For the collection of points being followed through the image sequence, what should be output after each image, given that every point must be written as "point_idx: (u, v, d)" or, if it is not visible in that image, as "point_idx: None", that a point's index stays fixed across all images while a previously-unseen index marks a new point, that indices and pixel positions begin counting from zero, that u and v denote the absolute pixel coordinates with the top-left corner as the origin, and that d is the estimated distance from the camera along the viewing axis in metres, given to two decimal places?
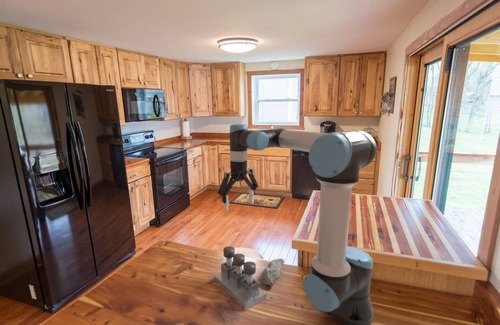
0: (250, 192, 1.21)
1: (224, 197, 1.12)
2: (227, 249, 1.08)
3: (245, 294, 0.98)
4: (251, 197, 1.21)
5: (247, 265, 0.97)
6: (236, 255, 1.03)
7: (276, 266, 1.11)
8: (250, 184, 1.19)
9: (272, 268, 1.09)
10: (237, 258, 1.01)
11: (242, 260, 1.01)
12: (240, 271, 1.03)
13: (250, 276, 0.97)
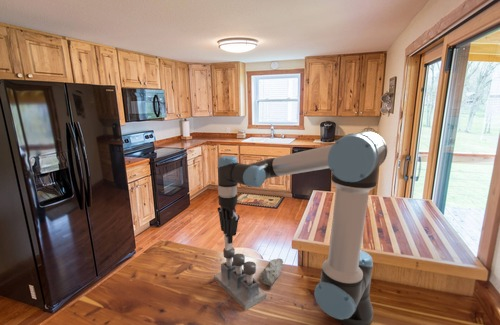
0: None
1: (225, 235, 1.08)
2: None
3: (245, 294, 0.98)
4: None
5: (247, 265, 0.97)
6: (236, 255, 1.03)
7: (275, 266, 1.11)
8: (227, 227, 1.04)
9: (271, 268, 1.09)
10: (237, 258, 1.01)
11: (242, 260, 1.01)
12: (240, 271, 1.03)
13: (250, 276, 0.97)
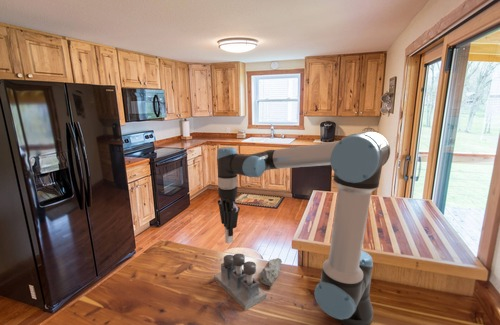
0: None
1: None
2: (227, 258, 1.09)
3: (245, 294, 0.98)
4: None
5: (247, 265, 0.97)
6: (236, 255, 1.03)
7: (274, 266, 1.11)
8: (227, 220, 1.04)
9: (271, 268, 1.09)
10: (237, 258, 1.01)
11: (242, 260, 1.01)
12: (240, 271, 1.03)
13: (250, 276, 0.97)
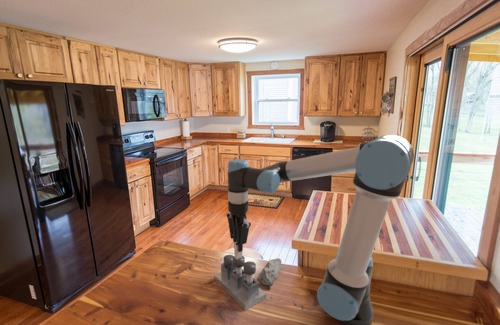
0: None
1: (234, 242, 1.02)
2: (227, 258, 1.09)
3: (245, 294, 0.98)
4: None
5: (247, 265, 0.97)
6: None
7: (274, 266, 1.11)
8: (237, 235, 0.99)
9: (270, 268, 1.09)
10: (237, 260, 1.02)
11: (242, 262, 1.01)
12: (240, 273, 1.03)
13: (250, 276, 0.97)
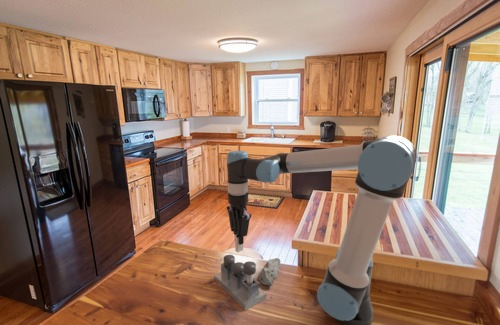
0: None
1: (235, 235, 1.01)
2: (227, 258, 1.09)
3: (245, 294, 0.98)
4: None
5: (247, 265, 0.97)
6: (236, 264, 1.04)
7: (273, 266, 1.11)
8: (237, 227, 0.98)
9: (270, 268, 1.09)
10: (237, 267, 1.02)
11: (242, 269, 1.02)
12: None
13: (250, 276, 0.97)
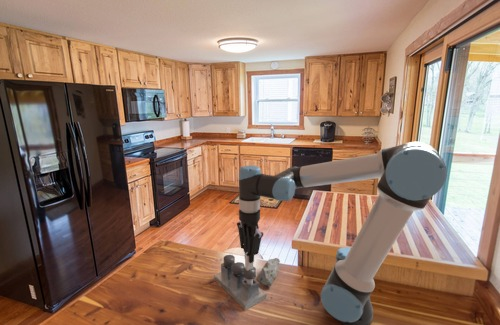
0: None
1: (245, 253, 0.97)
2: (227, 258, 1.09)
3: (245, 294, 0.98)
4: None
5: None
6: (236, 264, 1.04)
7: (273, 266, 1.11)
8: (248, 245, 0.94)
9: (269, 268, 1.09)
10: (237, 267, 1.02)
11: (242, 269, 1.02)
12: None
13: (250, 280, 0.97)
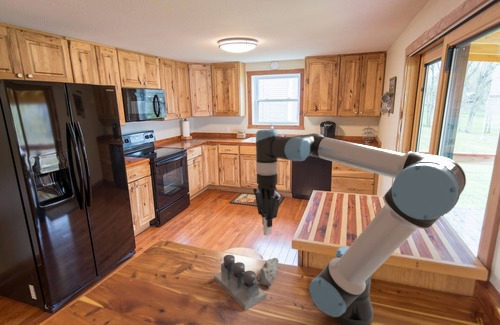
0: None
1: None
2: (227, 258, 1.09)
3: (245, 294, 0.98)
4: None
5: (247, 274, 0.98)
6: (236, 264, 1.04)
7: (272, 266, 1.11)
8: (267, 209, 0.95)
9: (269, 268, 1.09)
10: (237, 267, 1.02)
11: (242, 269, 1.02)
12: None
13: None
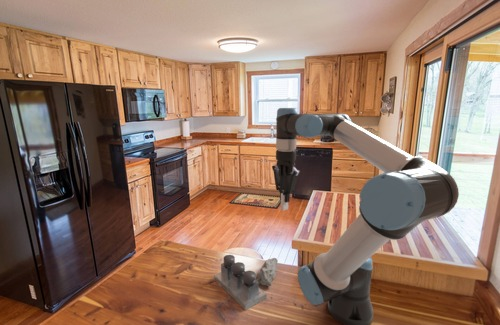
0: None
1: (280, 194, 1.02)
2: (227, 258, 1.09)
3: (245, 294, 0.98)
4: None
5: (247, 274, 0.98)
6: (236, 264, 1.04)
7: (271, 266, 1.11)
8: (284, 185, 0.99)
9: (268, 268, 1.09)
10: (237, 267, 1.02)
11: (242, 269, 1.02)
12: None
13: None
